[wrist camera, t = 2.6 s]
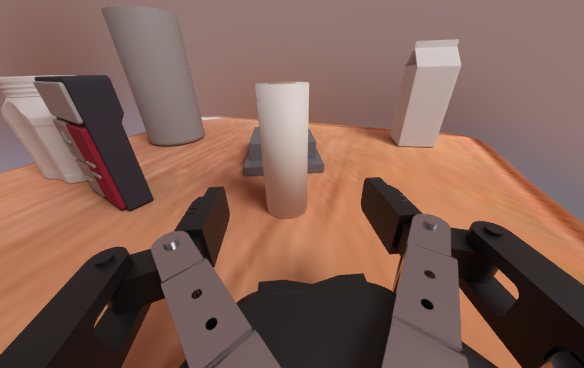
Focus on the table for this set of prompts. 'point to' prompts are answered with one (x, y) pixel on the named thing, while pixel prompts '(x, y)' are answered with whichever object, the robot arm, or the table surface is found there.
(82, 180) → the jar
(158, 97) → the cylinder vase
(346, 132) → the table surface
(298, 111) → the paper roll
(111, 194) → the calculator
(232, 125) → the table surface
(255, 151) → the roll holder
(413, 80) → the milk carton
